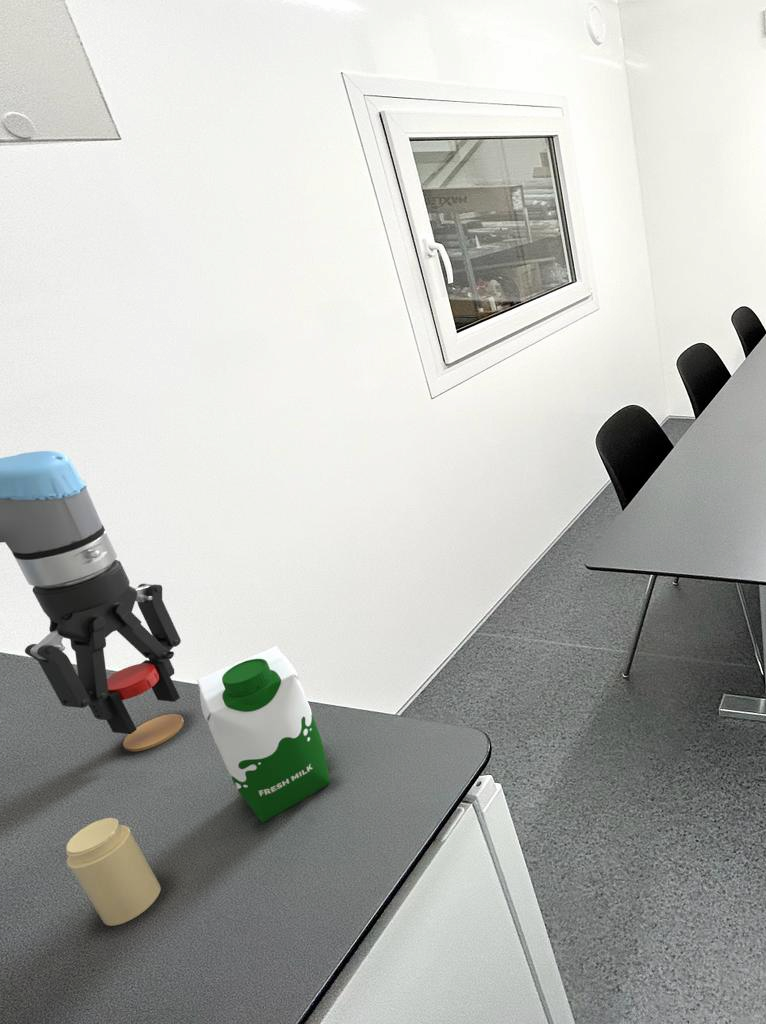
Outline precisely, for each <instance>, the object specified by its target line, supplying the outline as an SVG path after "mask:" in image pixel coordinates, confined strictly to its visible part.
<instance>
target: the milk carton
mask: <svg viewBox="0 0 766 1024" xmlns="http://www.w3.org/2000/svg"><path fill="white" fill-rule="evenodd" d="M298 679H300V677H299V675H298V672H297V671H296V669H295V668H294V666H293V665H292V663H291V662H290V660H289V659H288V658H287V657H286V656H285V655H284V654H283V653H282V652H281V651H280V649H279V647H278V646H277V645H275V646H272V647H269V648H267V649H266V650H263V651H261V652H259V653H256V654H254V655H252V656H249V657H247V658H244V659H242V660H240V661H237V662H235V663H233V664H230V665H228V666H226V667H222V668H221V669H219V670H216V671H214V672H212V673H209V674H207V675H205V676H203V677H200V678H198V679H196V682H197V685H198V689H199V699H200V706H201V711H202V715H203V717H204V720H205V722H207V725H208V728H209V730H210V733H211V737H212V738H213V740H214V742H215V744H216V747H217V750H218V751H219V753H220V756H221V758H222V761H223V763H224V765H225V767H226V769H227V772H228V774H229V776H230V778H231V780H232V782H233V784H234V786H235V788H236V789H237V792H238V793H239V794H240V795H241V796H242V798H243V799H244V801H245V802H246V803H247V804H248V806H249V808H251V809H252V810H253V813H255V815H256V816H257V817H258V819H259V821H261V823H263V824H264V823H265V822H267V821H269V820H270V819H272V818H274V817H275V816H277V815H279V814H280V813H282V812H284V811H285V810H287V809H289V808H291V807H292V806H294V805H296V804H297V803H299V802H301V801H303V800H305V799H306V798H308V797H310V796H311V795H313V794H315V793H317V792H318V791H321V790H322V789H323V788H325V787H328V785H330V784H331V780H330V775H329V774H330V773H329V769H328V768H329V767H328V763H327V762H328V761H327V758H326V752H325V747H324V743H323V741H322V736H321V734H320V730H319V729H318V726H317V725H318V724H317V722H316V720H315V717H314V714H313V712H312V709H311V707H310V704H309V701H308V698H307V695H306V692H305V690H304V689H303V686H302V685H301V682H300V680H298Z"/></svg>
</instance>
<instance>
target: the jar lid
mask: <svg viewBox="0 0 766 1024" xmlns="http://www.w3.org/2000/svg"><path fill="white" fill-rule="evenodd" d="M141 663H142V662H141ZM141 663H137V664H133V665H129V666H127V667H125V668H122V669H120V670H118V671H115V672H114V673H113V674H111V675H110V676H109V677H107V684H108V692H118V694H119V696H120V698H121V700H122V701H125V700H129V699H132V698H134V697H138V696H139V695H141V694H143V693H146V692H147V691H149V690H150V689H152V687H153V686H154V685H155V684H156V683H157V682H158V680H159V674H158V671H157V669H156V668H155V667H154V665H153V664H150V663H142V664H141Z"/></svg>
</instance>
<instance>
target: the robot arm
mask: <svg viewBox="0 0 766 1024" xmlns="http://www.w3.org/2000/svg"><path fill="white" fill-rule="evenodd" d="M87 487H88V486H87V485H86V480H84V479H83V478H82V477H81V475H80V473H79V472H78V470H77V468H76V467H75V465H74V463H73V462H72V460H71V459H70V457H69V456H67V455H66V454H64V453H62V452H59V451H53V450H38V451H30V452H29V451H28V452H22V453H19V454H16V455H11V456H5V457H1V458H0V544H1V543H2V544H3V543H5V545H6V546H7V547H8V549H9V550H10V551H11V554H12V555H13V557H14V559H15V561H16V563H17V565H18V566H19V568H20V571H21V573H22V575H23V576H24V578H25V580H26V582H27V583H28V585H30V586H32V593H33V594H34V597H35V598H36V600H37V602H38V604H39V606H40V608H41V610H42V612H43V613H44V614H45V615H46V617H48V619H49V633H48V634H47V635H46V636H45V637H44V638H43V639H41V640H40V641H39V642H38V643H31V644H29V645H27V646H26V647H25V649H24V653H25V654H26V655H28V656H29V657H31V658H32V659H34V660H36V661H37V662H38V664H39V666H40V667H41V669H42V672H43V673H44V675H45V677H46V678H47V680H48V681H49V684H50V685H51V687H52V689H53V691H54V693H55V695H56V697H57V698H58V700H59V702H60V704H61V705H62V706H63V707H69V708H79V709H83V708H86V707H89V709H90V711H91V712H92V714H93V716H94V718H95V719H96V720H101V721H106V722H107V724H108V726H109V728H110V730H111V731H112V733H116V734H125V735H128V734H132V733H133V732H134V731H136V730H137V729H136V728H137V727H136V726H135V723H134V722H133V719H132V717H131V715H130V714H129V712H128V709H127V708H126V705H125V703H124V702H123V700H121V698H120V696H119V694H118V692H108V684H107V678H108V677H107V675H108V674H107V668H106V660H105V651H104V649H105V648H106V647H107V640H106V638H107V637H108V636H110V635H111V634H112V633H113V632H117V633H119V635H121V637H123V638H124V639H125V640H126V641H127V642H128V643H129V644H130V645H131V646H132V647H133V648H134V649H136V651H138V653H140V654H141V655H142V656H143V657H144V658H146V659H145V660H143V661H142V662H141V663H140V664H142V663H150V664H153V665H154V667H155V668H156V669H157V671H158V674H159V680H158V682H157V683H156V684H155V685H154V686H153V687H151V689H152V692H153V693H154V695H155V697H156V700H157V701H162V702H171V703H175V702H176V701H178V700H180V698H181V696H180V694H179V692H178V690H177V688H176V686H175V684H174V682H173V679H172V678H171V677H172V676H173V675H175V668H174V666H173V664H172V661H171V659H172V658H173V657H174V656H175V652H174V651H172V649H174V648H175V647H176V648H177V647H178V646H179V645H180V644H181V642H182V640H181V638H180V635H179V633H178V631H177V629H176V627H175V625H174V622H173V620H172V617H171V615H170V614H169V611H168V609H167V607H166V605H165V603H164V600H163V585H162V584H156V583H155V584H154V583H140V584H139V585H138V586H137V587H132V586H131V585H130V579H129V577H128V575H127V573H126V571H125V569H124V567H123V565H122V562H121V561H120V560H118V559H117V557H118V556H117V552H116V550H115V549H114V546H113V544H112V542H111V540H110V538H109V536H108V533H107V531H106V529H105V526H104V525H103V523H102V521H101V519H100V517H99V514H98V512H97V509H96V507H95V504H94V503H93V500H92V498H91V496H90V495H91V494H90V493H89V491H88V488H87ZM135 603H137V607H138V608H139V610H140V613H141V614H142V617H143V618H144V620H145V623H146V625H147V627H148V629H149V631H148V630H147V628H146V627H144V626H143V625H142V621H141V620H140V618H138V617H137V615H135V614H134V613H133V609H134V607H135ZM63 639H68V640H70V647H71V650H73V651H74V653H75V662H76V668H77V669H75V667H74V666H73V663H72V662H71V660H70V658H69V656H68V655H67V654H66V653H65V652H64V651H65V649H66V646H65V645H64V644H63V643H62V641H63ZM76 670H77V671H76Z"/></svg>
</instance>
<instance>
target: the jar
mask: <svg viewBox="0 0 766 1024" xmlns="http://www.w3.org/2000/svg"><path fill="white" fill-rule="evenodd" d="M65 849H66V850H65V852H66V856H68V857H67V860H66V864H67V866H68V868H69V870H70V871H71V873H72V874H73V876H74V878H75V879H76V881H77V882H78V884H79V885H80V887H81V889H82V890H83V892H84V894H85V895H86V897H87V898H88V900H89V902H90V903H91V905H92V907H93V908H94V910H95V911H96V913H97V915H98V916H99V918H100V919H101V921H102V923H103V924H104V925H106V926H109V927H113V926H119V925H123V924H125V923H127V922H129V921H131V920H133V919H135V918H137V917H138V916H140V915H141V914H142V913H144V912H146V910H148V909H149V908H150V907H151V906H152V905H153V904H154V903H155V901H156V900H157V898H158V897H159V895H160V893H161V889H162V887H161V884H160V882H159V880H158V878H157V877H156V874H155V873H154V871H153V869H152V867H151V866H150V863H149V862H148V860H147V858H146V856H145V854H144V853H143V851H142V849H141V847H140V846H139V844H138V842H137V840H136V838H135V836H134V835H133V833H132V830H131V829H130V828H129V826H127V825H125V824H121V823H120V822H119V820H118V819H117V818H114V817H106V818H102V819H99V820H96V821H94V822H92V823H90V824H88V825H86V826H85V827H83V828H82V829H80V830H79V831H77V832H76V833H74V835H73V836H72V837H71V838H70V839H69V840H68V842H67V844H66V847H65Z"/></svg>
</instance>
